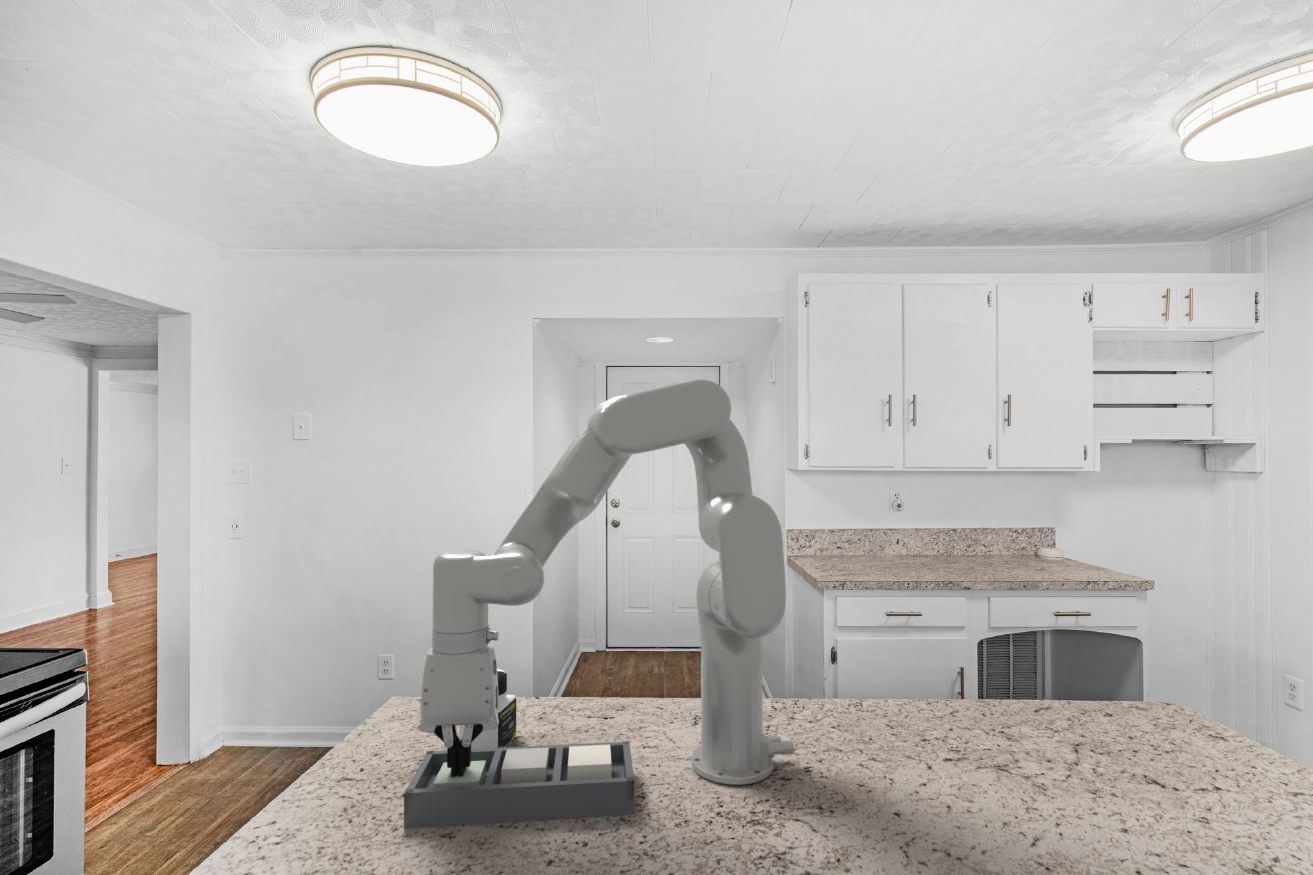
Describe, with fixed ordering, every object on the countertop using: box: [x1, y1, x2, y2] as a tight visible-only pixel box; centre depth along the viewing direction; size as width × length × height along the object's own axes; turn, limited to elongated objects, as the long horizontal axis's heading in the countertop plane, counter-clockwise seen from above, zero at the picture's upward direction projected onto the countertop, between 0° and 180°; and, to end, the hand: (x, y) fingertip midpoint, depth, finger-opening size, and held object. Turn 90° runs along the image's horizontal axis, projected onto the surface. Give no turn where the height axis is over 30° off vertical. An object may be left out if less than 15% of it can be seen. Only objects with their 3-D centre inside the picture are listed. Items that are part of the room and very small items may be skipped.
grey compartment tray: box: [403, 741, 636, 829], centre depth 91 cm, size 30×12×4 cm, turn 96°
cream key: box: [568, 745, 611, 781], centre depth 92 cm, size 6×6×2 cm
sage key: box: [433, 761, 486, 788], centre depth 90 cm, size 6×6×2 cm
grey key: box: [501, 748, 549, 784], centre depth 91 cm, size 6×6×2 cm
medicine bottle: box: [458, 668, 517, 749], centre depth 108 cm, size 7×7×12 cm
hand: (459, 771), depth 90 cm, fingers closed
